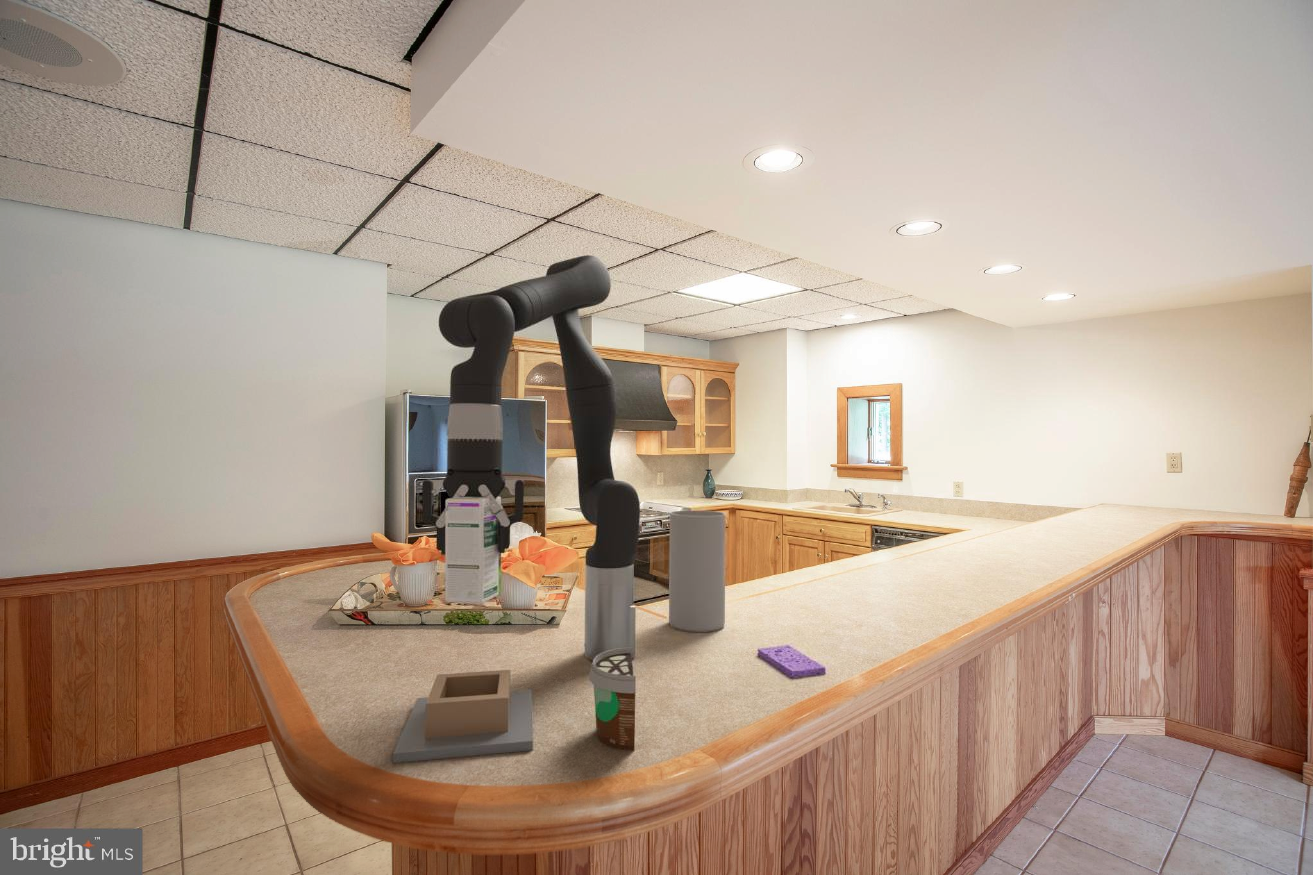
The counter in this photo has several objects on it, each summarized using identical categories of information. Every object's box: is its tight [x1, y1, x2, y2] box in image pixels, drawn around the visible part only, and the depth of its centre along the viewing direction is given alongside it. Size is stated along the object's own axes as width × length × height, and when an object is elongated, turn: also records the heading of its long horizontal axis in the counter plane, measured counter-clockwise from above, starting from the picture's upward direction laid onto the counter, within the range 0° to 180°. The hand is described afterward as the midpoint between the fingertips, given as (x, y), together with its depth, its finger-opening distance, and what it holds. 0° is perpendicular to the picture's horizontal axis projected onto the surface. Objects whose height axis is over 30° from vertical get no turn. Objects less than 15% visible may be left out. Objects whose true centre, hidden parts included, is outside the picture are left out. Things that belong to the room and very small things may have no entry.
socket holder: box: [392, 669, 534, 764], centre depth 85 cm, size 17×17×6 cm
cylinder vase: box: [668, 510, 727, 633], centre depth 136 cm, size 12×12×25 cm
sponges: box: [757, 644, 827, 679], centre depth 111 cm, size 7×13×2 cm, turn 19°
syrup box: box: [444, 495, 502, 605], centre depth 85 cm, size 6×6×14 cm
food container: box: [588, 647, 637, 751], centre depth 83 cm, size 12×6×10 cm, turn 5°
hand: (473, 552), depth 86 cm, fingers closed on syrup box, 7 cm apart
